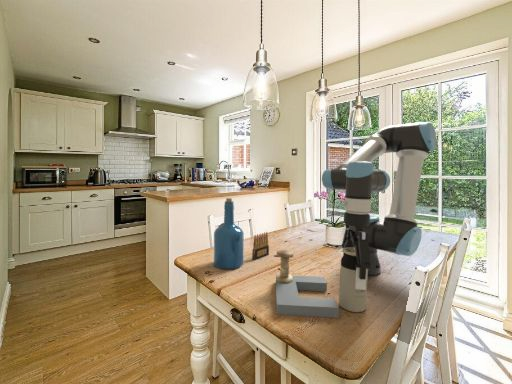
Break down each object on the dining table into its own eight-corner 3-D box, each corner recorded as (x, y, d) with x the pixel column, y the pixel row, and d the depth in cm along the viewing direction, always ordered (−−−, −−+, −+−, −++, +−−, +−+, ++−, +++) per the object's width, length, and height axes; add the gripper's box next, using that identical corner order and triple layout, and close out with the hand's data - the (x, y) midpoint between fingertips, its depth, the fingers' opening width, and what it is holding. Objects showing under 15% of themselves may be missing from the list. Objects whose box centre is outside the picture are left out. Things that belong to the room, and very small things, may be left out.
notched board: (323, 284, 97) (323, 276, 97) (338, 317, 75) (338, 307, 75) (275, 282, 98) (275, 274, 98) (276, 314, 76) (276, 304, 76)
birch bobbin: (291, 276, 96) (292, 250, 96) (293, 283, 90) (294, 255, 90) (275, 275, 97) (276, 249, 96) (276, 282, 91) (276, 254, 90)
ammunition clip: (266, 254, 131) (266, 231, 130) (268, 255, 130) (269, 231, 129) (252, 259, 123) (252, 234, 122) (254, 260, 122) (255, 235, 121)
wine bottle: (248, 267, 113) (249, 199, 110) (220, 272, 106) (220, 200, 104) (234, 257, 124) (235, 196, 122) (208, 262, 118) (209, 197, 115)
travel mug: (335, 300, 85) (337, 246, 84) (358, 299, 86) (361, 247, 84) (344, 313, 77) (347, 254, 76) (370, 313, 78) (373, 255, 76)
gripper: (334, 206, 92) (331, 264, 93) (358, 218, 67) (353, 297, 68) (356, 207, 91) (352, 265, 93) (387, 219, 66) (382, 299, 68)
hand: (352, 279), depth 81 cm, fingers open, 13 cm apart
